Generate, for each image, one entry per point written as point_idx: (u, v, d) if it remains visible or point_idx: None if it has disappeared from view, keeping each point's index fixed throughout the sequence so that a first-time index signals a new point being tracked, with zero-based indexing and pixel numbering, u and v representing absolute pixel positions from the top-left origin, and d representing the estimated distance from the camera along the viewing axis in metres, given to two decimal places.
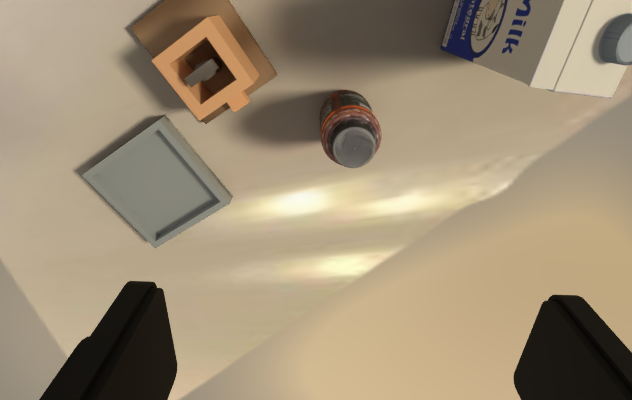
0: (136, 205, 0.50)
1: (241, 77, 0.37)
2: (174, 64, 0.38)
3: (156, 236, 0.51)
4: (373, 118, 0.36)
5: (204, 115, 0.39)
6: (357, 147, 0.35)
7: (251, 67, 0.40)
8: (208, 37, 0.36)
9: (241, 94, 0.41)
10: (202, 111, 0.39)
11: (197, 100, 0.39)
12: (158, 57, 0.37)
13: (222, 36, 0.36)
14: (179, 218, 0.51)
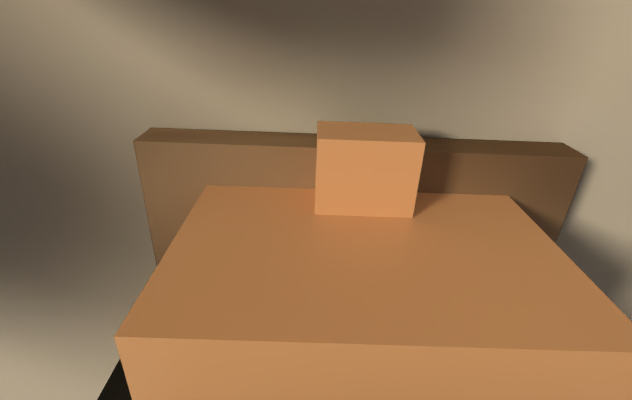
0: None
1: (180, 394, 0.05)
2: None
3: None
4: None
5: (594, 359, 0.05)
6: None
7: None
8: None
9: (321, 194, 0.08)
10: (576, 382, 0.05)
11: None
12: None
13: None
14: None
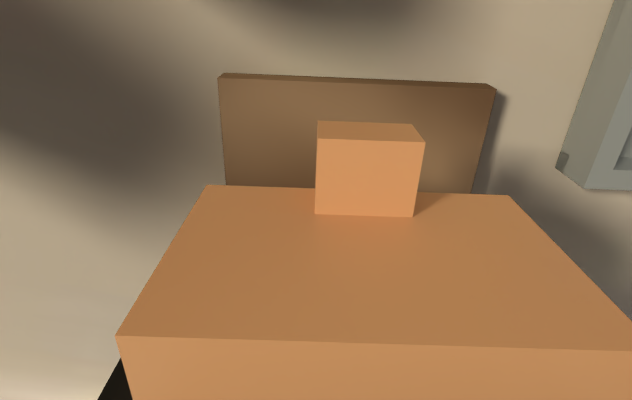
0: None
1: (180, 393, 0.05)
2: None
3: None
4: None
5: (594, 358, 0.05)
6: None
7: None
8: None
9: (321, 194, 0.08)
10: (575, 381, 0.05)
11: None
12: None
13: None
14: None
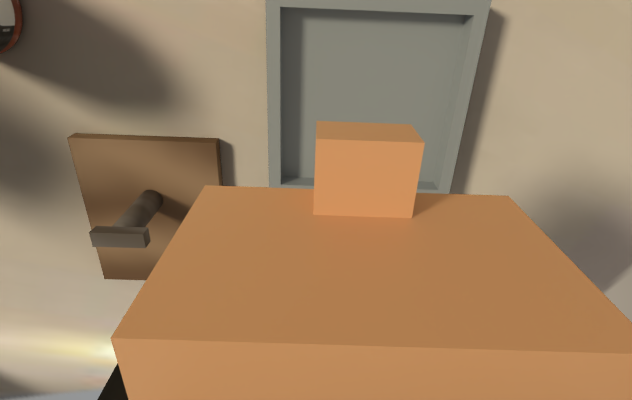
0: (439, 98, 0.25)
1: (177, 395, 0.05)
2: None
3: (467, 19, 0.23)
4: None
5: (594, 360, 0.05)
6: None
7: None
8: None
9: (320, 195, 0.08)
10: (576, 384, 0.05)
11: None
12: None
13: None
14: (395, 21, 0.23)
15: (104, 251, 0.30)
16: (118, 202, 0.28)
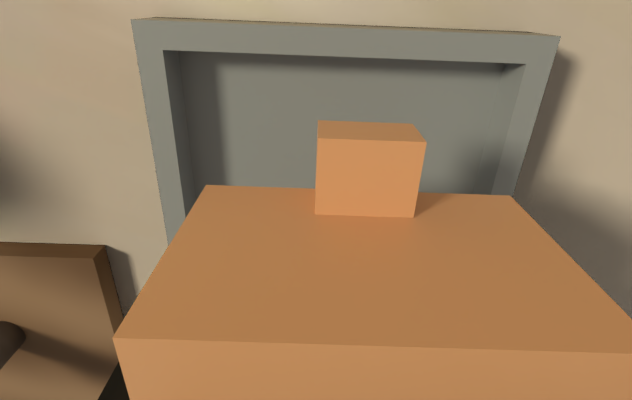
0: (456, 190, 0.15)
1: (179, 395, 0.05)
2: None
3: (511, 67, 0.13)
4: None
5: (598, 360, 0.05)
6: None
7: None
8: None
9: (321, 194, 0.08)
10: (579, 384, 0.05)
11: None
12: None
13: None
14: (381, 70, 0.13)
15: None
16: None
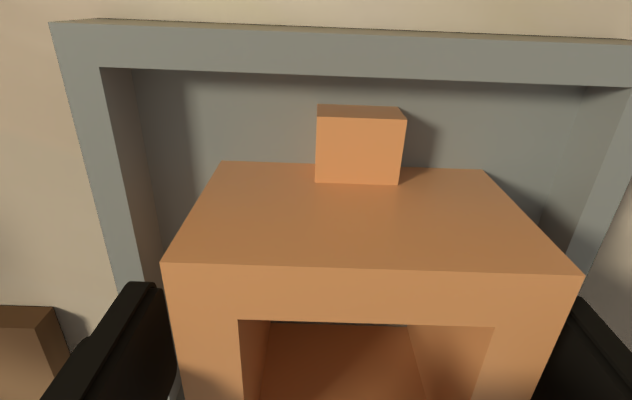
0: None
1: (208, 313, 0.07)
2: None
3: (601, 90, 0.09)
4: None
5: (533, 281, 0.06)
6: None
7: None
8: None
9: (320, 165, 0.09)
10: (520, 301, 0.07)
11: (487, 348, 0.07)
12: None
13: None
14: (415, 92, 0.09)
15: None
16: None
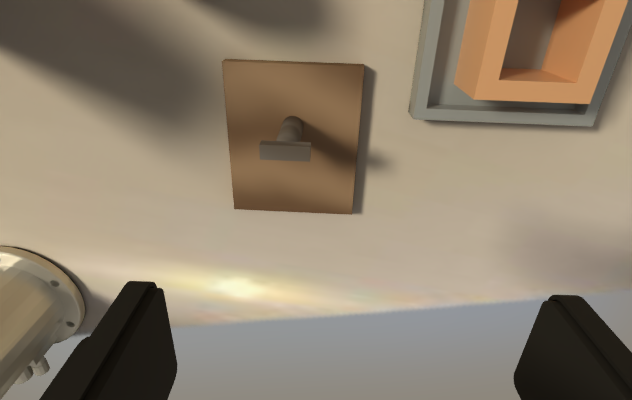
0: None
1: None
2: (567, 76, 0.24)
3: None
4: None
5: None
6: None
7: None
8: (496, 76, 0.23)
9: None
10: None
11: (603, 6, 0.21)
12: (577, 100, 0.23)
13: (479, 64, 0.23)
14: None
15: (238, 180, 0.31)
16: (260, 129, 0.29)
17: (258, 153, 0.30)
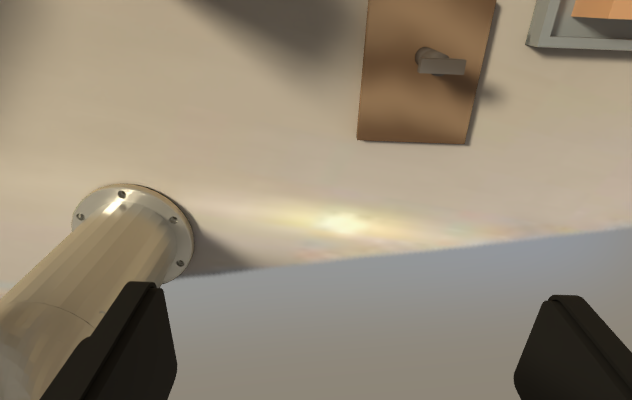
0: None
1: None
2: None
3: None
4: None
5: None
6: None
7: None
8: None
9: None
10: None
11: None
12: None
13: None
14: None
15: (366, 111, 0.35)
16: (394, 60, 0.33)
17: (388, 84, 0.33)
